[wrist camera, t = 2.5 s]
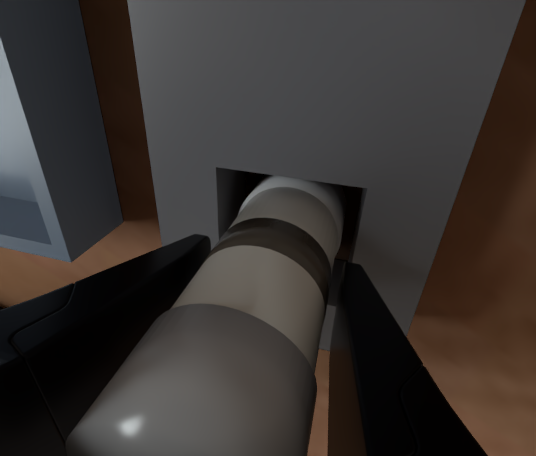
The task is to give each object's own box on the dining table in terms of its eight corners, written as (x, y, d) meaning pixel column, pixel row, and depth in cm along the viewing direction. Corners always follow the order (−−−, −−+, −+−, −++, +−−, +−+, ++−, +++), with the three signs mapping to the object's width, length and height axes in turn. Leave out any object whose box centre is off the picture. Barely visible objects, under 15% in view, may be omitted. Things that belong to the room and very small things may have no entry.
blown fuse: (338, 250, 12) (284, 586, 5) (254, 235, 13) (94, 512, 6) (353, 167, 11) (305, 480, 3) (256, 154, 12) (34, 393, 4)
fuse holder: (392, 313, 13) (395, 367, 11) (200, 272, 15) (171, 313, 13) (686, -636, 4) (955, -1207, 2) (142, -480, 6) (22, -743, 4)
